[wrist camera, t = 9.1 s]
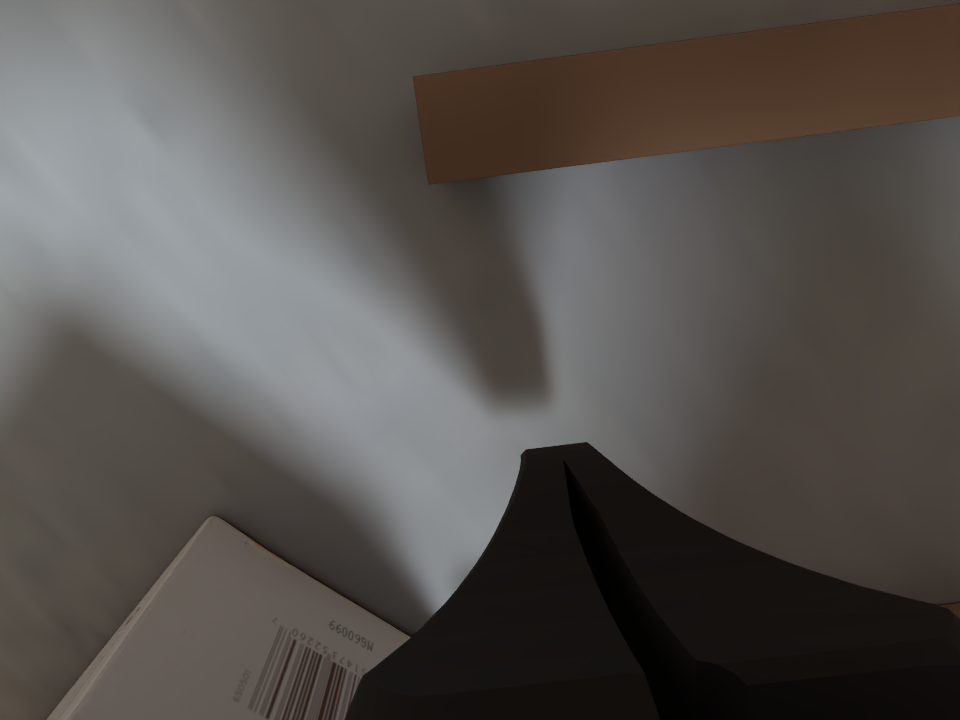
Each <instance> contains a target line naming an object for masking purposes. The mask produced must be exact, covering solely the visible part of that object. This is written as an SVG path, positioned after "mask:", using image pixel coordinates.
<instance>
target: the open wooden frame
mask: <svg viewBox="0 0 960 720" xmlns="http://www.w3.org/2000/svg"><path fill="white" fill-rule="evenodd" d="M413 81H414V88H415V95H416V102H417V108H418V115H419V122H420V129H421V136H422V143H423V150H424V156H425V163H426V170H427V177H428V184H437V183H444V182H452V181H460V180H468V179H475V178H483V177H491V176H499V175H506V174H514V173H522V172H529V171H537V170H545V169H553V168H560V167H568V166H576V165H584V164H591V163H599V162H607V161H614V160H622V159H630V158H638V157H645V156H653V155H661V154H669V153H676V152H684V151H692V150H700V149H707V148H715V147H723V146H730V145H738V144H746V143H754V142H761V141H769V140H777V139H785V138H792V137H800V136H808V135H816V134H823V133H831V132H839V131H846V130H854V129H862V128H870V127H877V126H885V125H893V124H901V123H908V122H916V121H924V120H931V119H939V118H947V117H955V116H960V3H959V4H951V5H944V6H937V7H929V8H922V9H914V10H907V11H899V12H892V13H884V14H877V15H869V16H862V17H854V18H847V19H839V20H832V21H825V22H817V23H810V24H802V25H795V26H787V27H780V28H772V29H765V30H757V31H750V32H742V33H735V34H727V35H720V36H713V37H705V38H698V39H690V40H683V41H675V42H668V43H660V44H653V45H645V46H638V47H630V48H623V49H615V50H608V51H600V52H593V53H586V54H578V55H571V56H563V57H556V58H548V59H541V60H533V61H526V62H518V63H511V64H503V65H496V66H488V67H481V68H474V69H466V70H459V71H451V72H444V73H436V74H429V75H421V76H414V77H413ZM937 606H941V607H945V608H948V609H949V610H950V611H951V612H953V613H954V614H955V615H956V616H957V617H959V618H960V603H954V604H945V605H937Z"/></svg>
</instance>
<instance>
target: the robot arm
mask: <svg viewBox="0 0 960 720" xmlns="http://www.w3.org/2000/svg"><path fill="white" fill-rule="evenodd" d="M345 720H960V618H959V617H957V616H956V615H955V614H954V613H953V612H951V611H950V610H949V609H948V608H945V607H941V606H937V605H933V604H929V603H925V602H921V601H917V600H913V599H909V598H905V597H901V596H897V595H893V594H889V593H885V592H881V591H877V590H873V589H869V588H865V587H862V586H858V585H855V584H851V583H848V582H845V581H842V580H839V579H836V578H833V577H830V576H826V575H823V574H820V573H817V572H814V571H811V570H808V569H805V568H802V567H800V566H797V565H794V564H791V563H789V562H786V561H783V560H781V559H778V558H776V557H773V556H771V555H768V554H766V553H764V552H761V551H759V550H756V549H754V548H752V547H749V546H747V545H744V544H742V543H740V542H738V541H736V540H734V539H731V538H729V537H727V536H725V535H723V534H721V533H719V532H717V531H715V530H713V529H711V528H710V527H708V526H706V525H704V524H702V523H700V522H698V521H696V520H694V519H692V518H691V517H689V516H687V515H686V514H684V513H682V512H680V511H679V510H677V509H676V508H674V507H672V506H671V505H669V504H668V503H666V502H665V501H663V500H662V499H660V498H658V497H657V496H655V495H654V494H652V493H651V492H650V491H648V490H647V489H645V488H644V487H642V486H641V485H640V484H638V483H637V482H636V481H634V480H633V479H632V478H630V477H629V476H628V475H627V474H625V473H624V472H623V471H621V470H620V469H619V468H618V467H617V466H615V465H614V464H613V463H612V462H610V461H609V460H608V459H607V458H606V457H604V456H603V455H602V454H601V453H600V452H599V451H597V450H596V449H595V448H594V447H592V446H591V445H590V444H589V443H587V442H584V443H576V444H568V445H559V446H551V447H543V448H535V449H527V450H525V451H524V452H523V453H522V454H521V464H520V470H519V474H518V478H517V481H516V485H515V487H514V490H513V493H512V496H511V498H510V501H509V504H508V506H507V508H506V511H505V513H504V515H503V517H502V519H501V521H500V523H499V525H498V527H497V529H496V531H495V533H494V535H493V537H492V539H491V540H490V542H489V544H488V546H487V547H486V549H485V551H484V552H483V554H482V555H481V557H480V558H479V560H478V561H477V563H476V564H475V566H474V567H473V569H472V570H471V571H470V573H469V574H468V575H467V577H466V578H465V579H464V581H463V582H462V583H461V585H460V586H459V587H458V589H457V590H456V591H455V592H454V593H453V595H452V596H451V597H450V598H449V599H448V600H447V602H446V603H445V604H444V605H443V606H442V607H441V608H440V609H439V610H438V611H437V612H436V613H435V614H434V615H433V616H432V617H431V618H430V619H429V620H428V622H427V623H426V624H425V625H424V626H423V627H422V628H421V629H420V630H419V631H417V632H416V633H415V634H414V635H413V636H412V637H411V638H410V639H408V640H407V641H406V642H405V643H403V644H402V645H401V646H400V647H399V648H397V649H396V650H395V651H394V652H392V653H391V654H390V655H389V656H387V657H386V658H385V659H384V660H382V661H381V662H380V663H379V664H377V665H376V666H375V667H374V668H372V669H371V670H370V671H368V672H367V673H366V674H364V675H363V676H362V678H361V680H360V682H359V685H358V687H357V689H356V692H355V694H354V696H353V699H352V701H351V704H350V706H349V709H348V711H347V714H346V717H345Z"/></svg>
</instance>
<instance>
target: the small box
mask: <svg viewBox="0 0 960 720" xmlns="http://www.w3.org/2000/svg"><path fill="white" fill-rule="evenodd" d="M410 638H411V637H409V636H408V635H406V634H404V633H403V632H401V631H399V630H398V629H396V628H394V627H393V626H391V625H390V624H388V623H386V622H385V621H383V620H381V619H380V618H378V617H376V616H375V615H373V614H371V613H370V612H368V611H366V610H365V609H363V608H361V607H360V606H358V605H356V604H355V603H353V602H351V601H350V600H348V599H346V598H344V597H343V596H341V595H340V594H338V593H336V592H335V591H333V590H331V589H330V588H328V587H326V586H325V585H323V584H321V583H320V582H318V581H316V580H315V579H313V578H311V577H310V576H308V575H307V574H305V573H303V572H302V571H300V570H299V569H297V568H295V567H294V566H292V565H290V564H288V563H287V562H285V561H284V560H282V559H281V558H279V557H277V556H276V555H274V554H272V553H271V552H269V551H268V550H266V549H265V548H263V547H262V546H260V545H259V544H257V543H256V542H254V541H253V540H252V539H250V538H249V537H247V536H246V535H244V534H243V533H241V532H240V531H238V530H237V529H235V528H234V527H232V526H231V525H230V524H228V523H227V522H225V521H224V520H222V519H220V518H218V517H216V516H211V517H209V518H208V519H207V520H205V521H204V523H203V524H202V525H201V526H200V528H199V529H198V530H197V531H196V533H195V534H194V535H193V536H192V538H191V539H190V540H189V541H188V543H187V544H186V545H185V546H184V548H183V549H182V550H181V551H180V553H179V554H178V555H177V556H176V558H175V559H174V560H173V561H172V563H171V564H170V565H169V566H168V568H167V569H166V570H165V571H164V572H163V574H162V575H161V576H160V577H159V579H158V580H157V581H156V582H155V584H154V585H153V586H152V587H151V589H150V590H149V591H148V592H147V594H146V595H145V596H144V597H143V599H142V600H141V601H140V602H139V604H138V605H137V606H136V607H135V609H134V610H133V611H132V612H131V614H130V615H129V616H128V617H127V619H126V620H125V621H124V622H123V624H122V625H121V626H120V628H119V629H118V630H117V631H116V633H115V634H114V635H113V636H112V638H111V639H110V640H109V641H108V643H107V644H106V645H105V646H104V648H103V649H102V650H101V651H100V653H99V654H98V655H97V656H96V658H95V659H94V660H93V661H92V663H91V664H90V665H89V666H88V668H87V669H86V670H85V671H84V673H83V674H82V675H81V676H80V678H79V679H78V680H77V681H76V683H75V684H74V685H73V686H72V688H71V689H70V690H69V691H68V693H67V694H66V695H65V697H64V698H63V699H62V700H61V702H60V703H59V704H58V705H57V707H56V708H55V709H54V710H53V712H52V713H51V714H50V716H49V717H48V718H47V719H46V720H345V717H346V714H347V711H348V709H349V706H350V704H351V701H352V699H353V696H354V694H355V692H356V689H357V687H358V685H359V682H360V680H361V678H362V676H363V675H364V674H366V673H367V672H368V671H370V670H371V669H372V668H374V667H375V666H376V665H377V664H379V663H380V662H381V661H382V660H384V659H385V658H386V657H387V656H389V655H390V654H391V653H392V652H394V651H395V650H396V649H397V648H399V647H400V646H401V645H402V644H403V643H405V642H406V641H407V640H408V639H410Z"/></svg>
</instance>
